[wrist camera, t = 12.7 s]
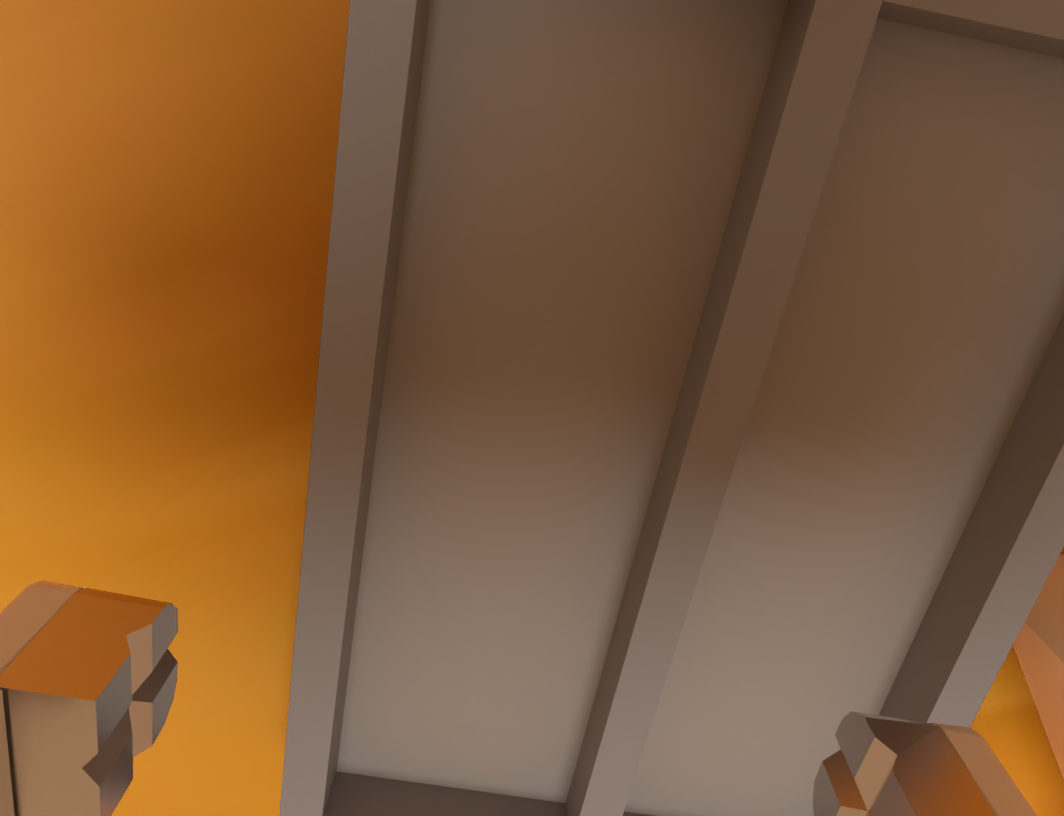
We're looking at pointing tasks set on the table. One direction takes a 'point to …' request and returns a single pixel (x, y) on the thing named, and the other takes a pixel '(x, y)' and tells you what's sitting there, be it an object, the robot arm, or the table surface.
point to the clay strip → (1046, 657)
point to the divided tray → (674, 396)
